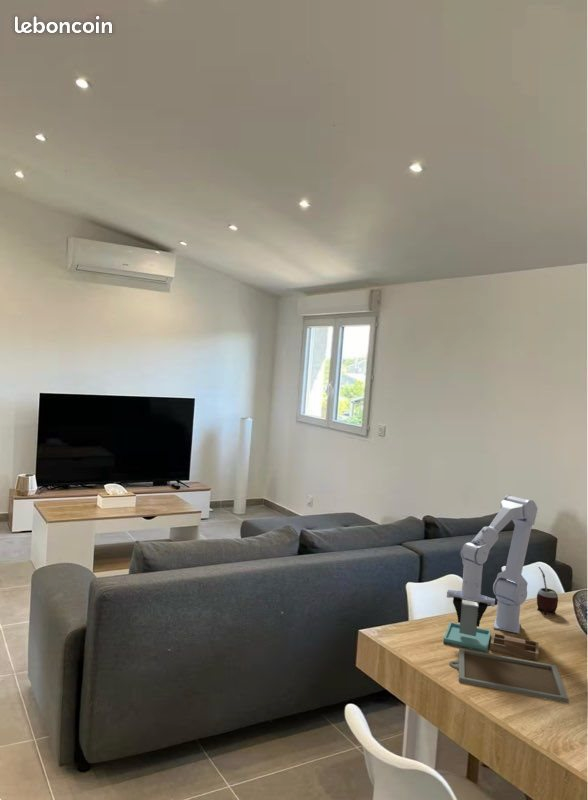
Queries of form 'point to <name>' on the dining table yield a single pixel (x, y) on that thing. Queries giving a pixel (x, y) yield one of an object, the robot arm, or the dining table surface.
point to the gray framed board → (510, 674)
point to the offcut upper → (514, 642)
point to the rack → (529, 652)
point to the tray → (467, 638)
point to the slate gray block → (468, 619)
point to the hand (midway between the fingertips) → (468, 623)
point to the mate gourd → (547, 599)
